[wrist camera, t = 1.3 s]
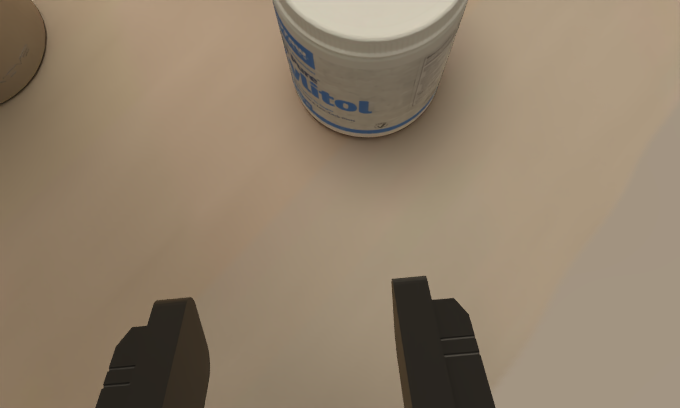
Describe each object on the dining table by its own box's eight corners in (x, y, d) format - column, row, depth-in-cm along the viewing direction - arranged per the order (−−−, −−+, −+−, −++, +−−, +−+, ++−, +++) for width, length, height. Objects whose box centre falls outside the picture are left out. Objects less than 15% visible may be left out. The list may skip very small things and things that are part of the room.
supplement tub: (270, 108, 42) (220, -7, 28) (329, -16, 44) (310, -186, 29) (408, 165, 41) (431, 76, 27) (464, 35, 43) (514, -115, 28)
